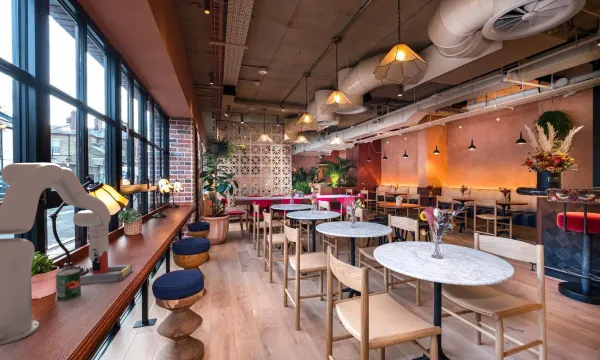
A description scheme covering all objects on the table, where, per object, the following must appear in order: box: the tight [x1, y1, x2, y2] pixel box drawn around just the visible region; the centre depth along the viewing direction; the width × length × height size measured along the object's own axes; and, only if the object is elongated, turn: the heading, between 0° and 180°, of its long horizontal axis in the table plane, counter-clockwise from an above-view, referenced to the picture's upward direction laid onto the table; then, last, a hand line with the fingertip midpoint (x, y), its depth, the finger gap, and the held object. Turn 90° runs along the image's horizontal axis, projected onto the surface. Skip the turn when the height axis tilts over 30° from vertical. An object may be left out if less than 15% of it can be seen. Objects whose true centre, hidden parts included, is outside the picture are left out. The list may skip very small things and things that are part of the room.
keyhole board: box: [80, 263, 133, 285], centre depth 137 cm, size 15×20×4 cm
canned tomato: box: [55, 268, 82, 302], centre depth 114 cm, size 8×8×11 cm
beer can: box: [92, 251, 109, 274], centre depth 136 cm, size 7×7×12 cm
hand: (100, 267), depth 136 cm, fingers closed on beer can, 6 cm apart
